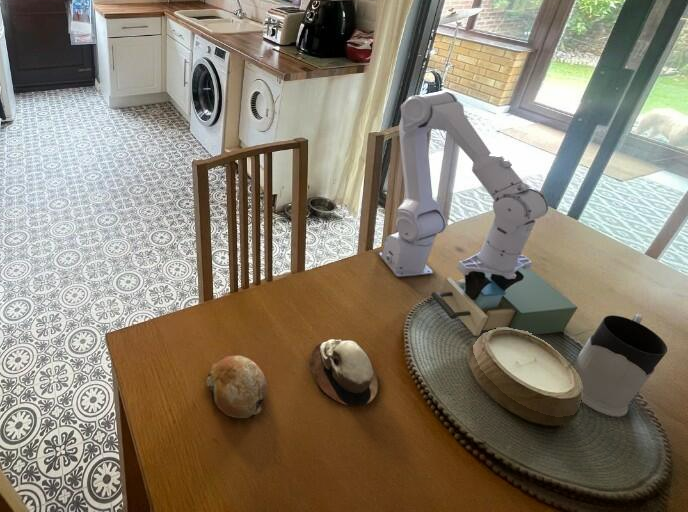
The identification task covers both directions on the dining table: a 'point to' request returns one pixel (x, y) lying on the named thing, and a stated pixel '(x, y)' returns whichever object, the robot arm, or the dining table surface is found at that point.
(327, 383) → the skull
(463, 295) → the drawer
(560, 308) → the cabinet
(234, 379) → the bread roll
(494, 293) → the light blue block
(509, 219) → the robot arm
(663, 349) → the black and white mug
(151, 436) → the dining table surface
